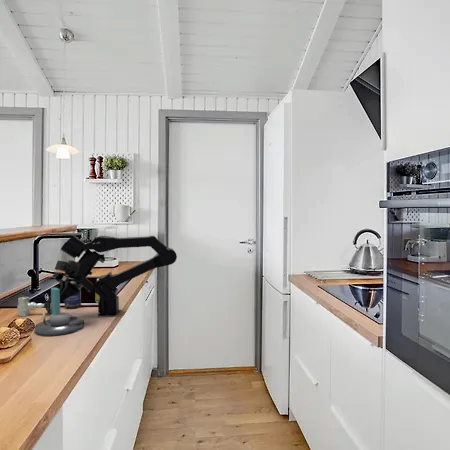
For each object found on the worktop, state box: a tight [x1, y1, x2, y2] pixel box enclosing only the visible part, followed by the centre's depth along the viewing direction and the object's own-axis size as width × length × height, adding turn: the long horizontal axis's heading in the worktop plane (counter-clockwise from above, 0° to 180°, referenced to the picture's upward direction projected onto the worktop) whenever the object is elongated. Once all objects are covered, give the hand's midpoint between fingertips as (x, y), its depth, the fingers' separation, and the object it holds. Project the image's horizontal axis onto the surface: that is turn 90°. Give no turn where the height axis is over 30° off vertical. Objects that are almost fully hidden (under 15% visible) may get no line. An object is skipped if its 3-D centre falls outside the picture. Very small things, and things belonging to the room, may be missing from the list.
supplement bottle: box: [94, 277, 100, 304], centre depth 152 cm, size 5×5×10 cm
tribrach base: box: [33, 312, 86, 337], centre depth 118 cm, size 15×15×4 cm
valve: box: [16, 296, 52, 317], centre depth 134 cm, size 7×7×12 cm
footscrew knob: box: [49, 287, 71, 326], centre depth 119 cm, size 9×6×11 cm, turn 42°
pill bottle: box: [64, 287, 82, 310], centre depth 144 cm, size 6×6×11 cm
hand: (56, 302), depth 122 cm, fingers closed, pressing on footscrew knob
